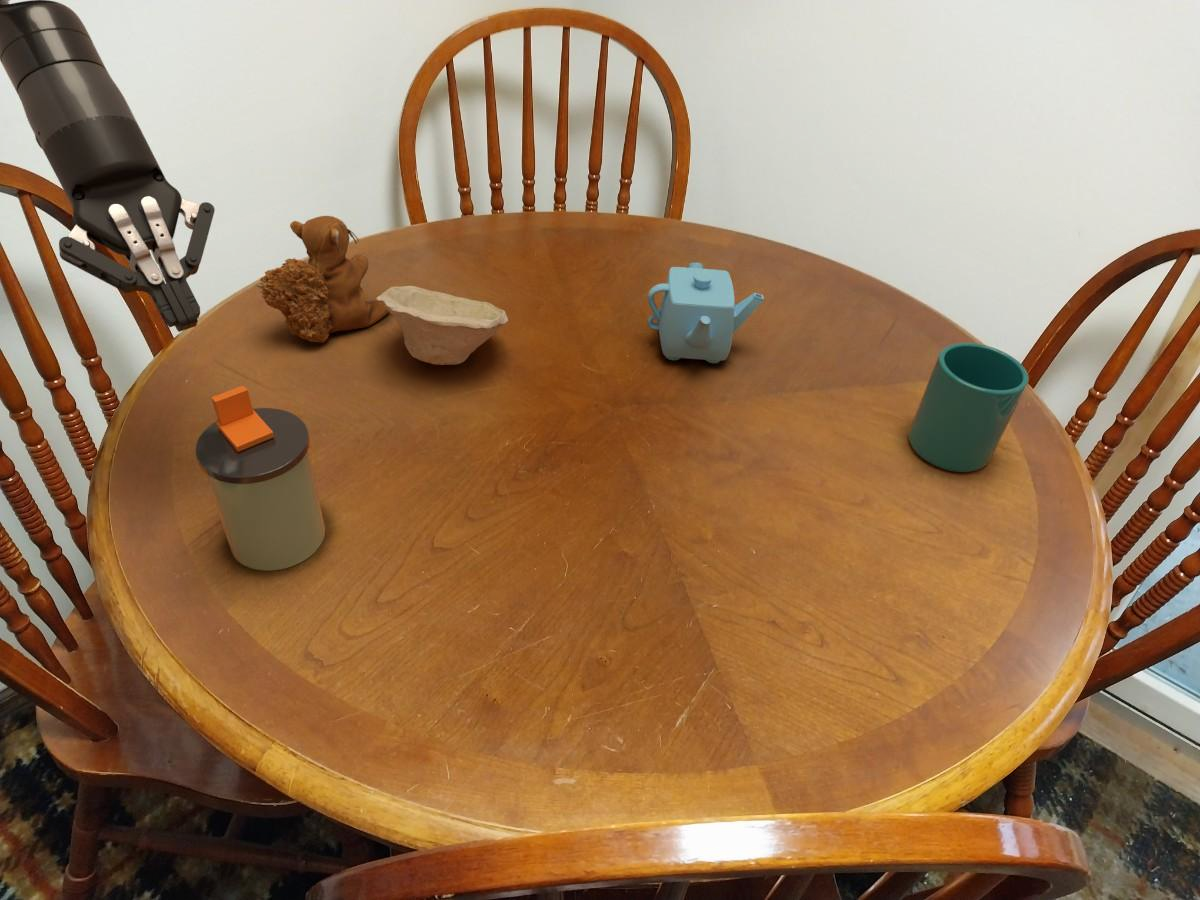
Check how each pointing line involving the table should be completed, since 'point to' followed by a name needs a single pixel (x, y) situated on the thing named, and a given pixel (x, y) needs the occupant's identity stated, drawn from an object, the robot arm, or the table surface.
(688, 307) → the teapot
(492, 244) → the table surface
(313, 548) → the lidded canister
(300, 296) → the stuffed squirrel
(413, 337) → the bowl
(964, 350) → the cup
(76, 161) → the robot arm
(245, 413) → the slider
